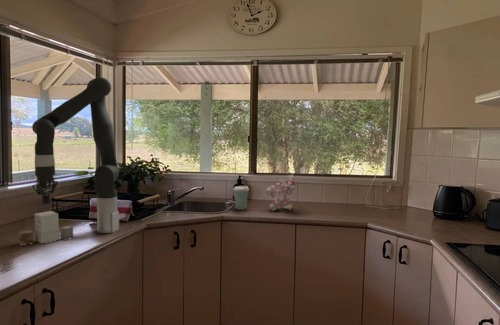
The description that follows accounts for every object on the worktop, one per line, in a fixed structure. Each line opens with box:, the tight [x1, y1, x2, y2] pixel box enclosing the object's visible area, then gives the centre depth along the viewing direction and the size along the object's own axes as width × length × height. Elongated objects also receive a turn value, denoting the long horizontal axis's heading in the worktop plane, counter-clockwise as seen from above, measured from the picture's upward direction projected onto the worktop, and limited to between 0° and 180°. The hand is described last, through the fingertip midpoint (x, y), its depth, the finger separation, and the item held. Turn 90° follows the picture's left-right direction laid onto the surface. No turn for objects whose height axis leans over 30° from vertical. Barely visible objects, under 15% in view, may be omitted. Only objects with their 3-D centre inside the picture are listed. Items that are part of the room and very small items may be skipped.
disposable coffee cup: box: [232, 185, 250, 211], centre depth 222 cm, size 11×11×15 cm
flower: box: [264, 172, 297, 212], centre depth 223 cm, size 20×22×25 cm
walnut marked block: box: [18, 229, 35, 246], centre depth 145 cm, size 5×5×5 cm
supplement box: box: [34, 210, 60, 244], centre depth 149 cm, size 7×7×13 cm
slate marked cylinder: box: [60, 225, 74, 240], centre depth 154 cm, size 5×5×5 cm
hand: (46, 203), depth 148 cm, fingers closed
